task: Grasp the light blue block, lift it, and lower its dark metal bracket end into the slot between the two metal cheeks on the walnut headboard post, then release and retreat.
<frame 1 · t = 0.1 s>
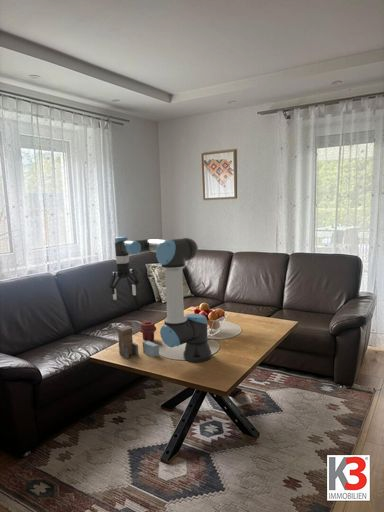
hand: (124, 297, 223), 28 cm above the table, fingers open, 13 cm apart
mechanical component: (148, 341, 226), on the table
light blue block: (151, 353, 205), on the table
post: (128, 355, 205), on the table
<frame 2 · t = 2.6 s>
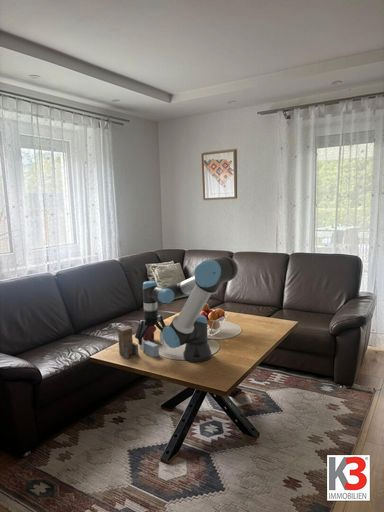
hand: (152, 346, 203), 5 cm above the table, fingers open, 13 cm apart
nothing on the table moved.
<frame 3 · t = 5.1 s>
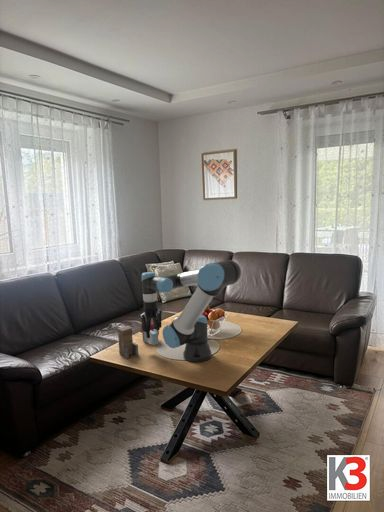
hand: (153, 342, 202), 7 cm above the table, fingers closed on light blue block, 3 cm apart
light blue block: (150, 342, 204), point 7 cm above the table, touching gripper
everything else where it was.
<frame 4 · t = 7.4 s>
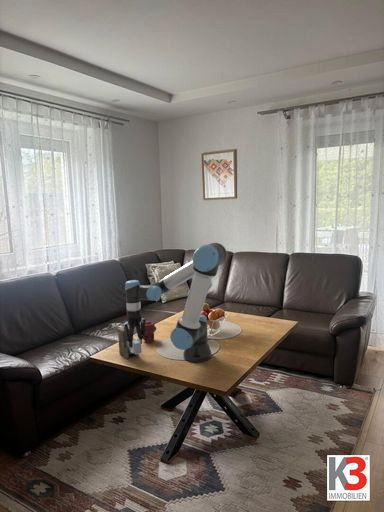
hand: (136, 351, 198), 4 cm above the table, fingers closed on light blue block, 4 cm apart
light blue block: (133, 351, 200), point 4 cm above the table, touching gripper
everything else where it was.
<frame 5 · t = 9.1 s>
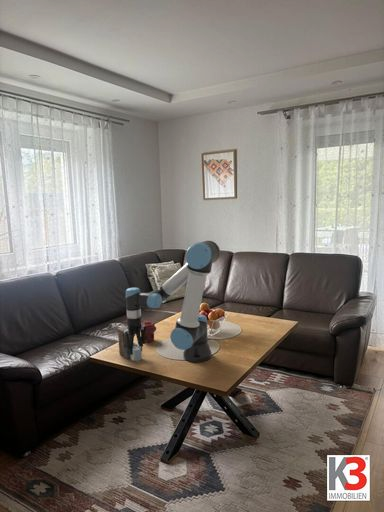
hand: (136, 358, 199), 0 cm above the table, fingers closed on light blue block, 4 cm apart
light blue block: (134, 357, 200), on the table, touching gripper
everything else where it was.
when the fingers open (0 cm above the table, at t = 10.0 s): light blue block stays where it is, on the table.
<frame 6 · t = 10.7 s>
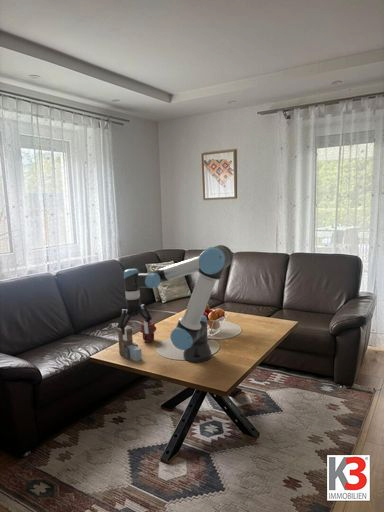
hand: (136, 336, 197), 12 cm above the table, fingers open, 13 cm apart
light blue block: (134, 357, 200), on the table
everything else where it was.
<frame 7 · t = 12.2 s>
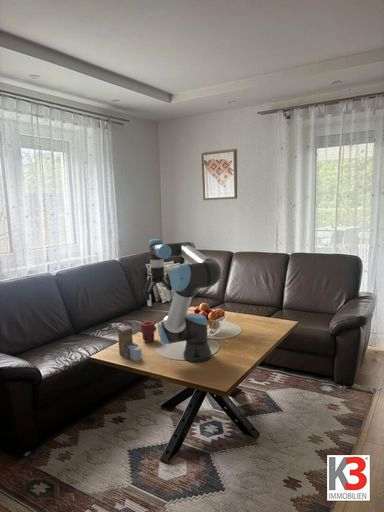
hand: (159, 303, 210), 27 cm above the table, fingers open, 13 cm apart
nothing on the table moved.
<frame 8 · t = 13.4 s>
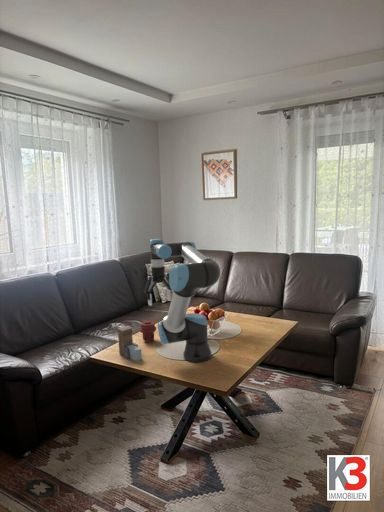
hand: (159, 302, 210), 27 cm above the table, fingers open, 13 cm apart
nothing on the table moved.
at the end: light blue block 1.1 cm from the target spot on the table beside the post, on the table; light blue block tilted 0°; the gripper is holding nothing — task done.
